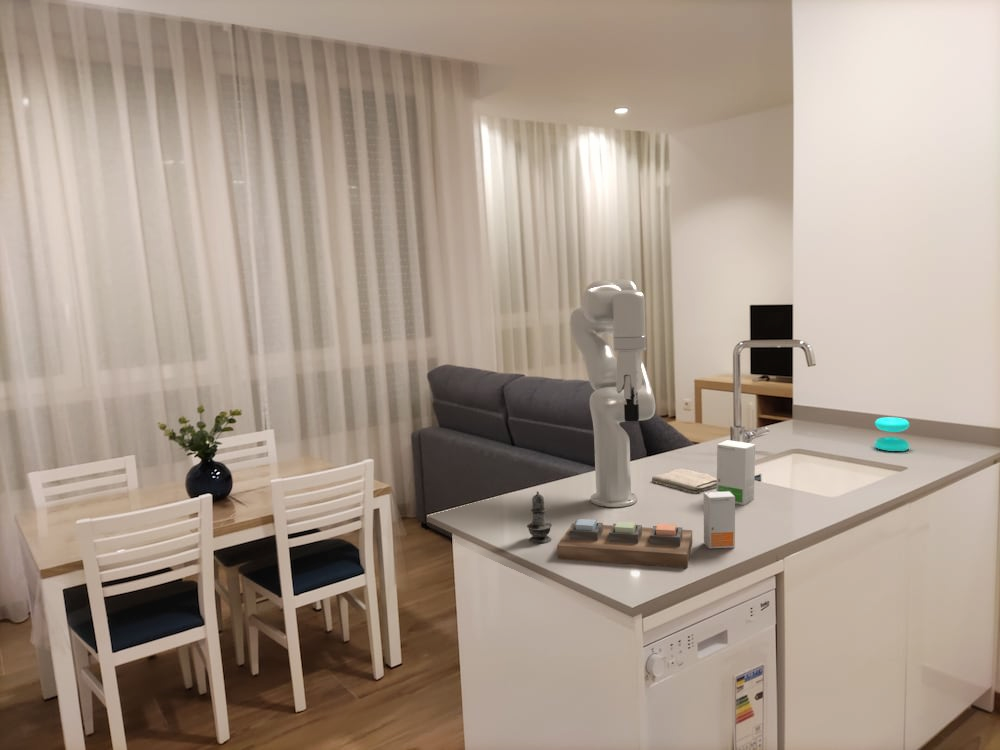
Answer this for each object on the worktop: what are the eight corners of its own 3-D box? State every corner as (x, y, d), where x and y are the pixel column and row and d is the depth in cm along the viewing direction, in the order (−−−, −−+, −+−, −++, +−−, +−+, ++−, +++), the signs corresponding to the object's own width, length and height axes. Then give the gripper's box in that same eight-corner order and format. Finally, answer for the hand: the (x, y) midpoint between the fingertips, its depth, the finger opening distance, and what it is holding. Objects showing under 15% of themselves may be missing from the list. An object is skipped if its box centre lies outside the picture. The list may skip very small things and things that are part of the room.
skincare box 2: (715, 500, 197) (714, 444, 195) (726, 494, 202) (726, 439, 200) (745, 505, 192) (745, 447, 190) (756, 499, 196) (755, 442, 194)
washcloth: (697, 496, 203) (697, 485, 203) (649, 483, 218) (649, 473, 218) (725, 487, 210) (724, 477, 210) (677, 475, 225) (676, 466, 224)
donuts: (902, 423, 233) (870, 420, 240) (902, 454, 234) (869, 450, 242) (914, 418, 240) (881, 415, 247) (913, 448, 241) (881, 444, 248)
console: (572, 535, 176) (572, 515, 176) (692, 542, 167) (692, 521, 167) (557, 558, 162) (556, 536, 162) (687, 568, 153) (686, 545, 153)
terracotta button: (658, 534, 164) (657, 523, 164) (676, 535, 163) (676, 524, 162) (656, 540, 160) (655, 529, 160) (674, 542, 159) (674, 530, 159)
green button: (618, 532, 167) (617, 521, 167) (635, 533, 166) (635, 522, 165) (615, 538, 163) (614, 526, 163) (633, 539, 162) (632, 528, 162)
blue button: (579, 529, 170) (579, 518, 170) (596, 530, 169) (596, 519, 168) (575, 535, 166) (575, 524, 166) (593, 536, 165) (592, 525, 164)
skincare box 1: (708, 549, 163) (708, 497, 161) (703, 542, 167) (702, 492, 166) (736, 548, 163) (735, 496, 161) (730, 541, 167) (729, 490, 166)
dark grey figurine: (550, 534, 177) (548, 486, 176) (553, 543, 172) (551, 493, 170) (526, 536, 177) (524, 488, 176) (528, 545, 171) (526, 495, 170)
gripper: (619, 341, 180) (621, 414, 183) (608, 347, 166) (610, 426, 169) (649, 340, 178) (651, 414, 180) (641, 347, 164) (643, 427, 166)
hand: (631, 420), depth 175 cm, fingers closed
